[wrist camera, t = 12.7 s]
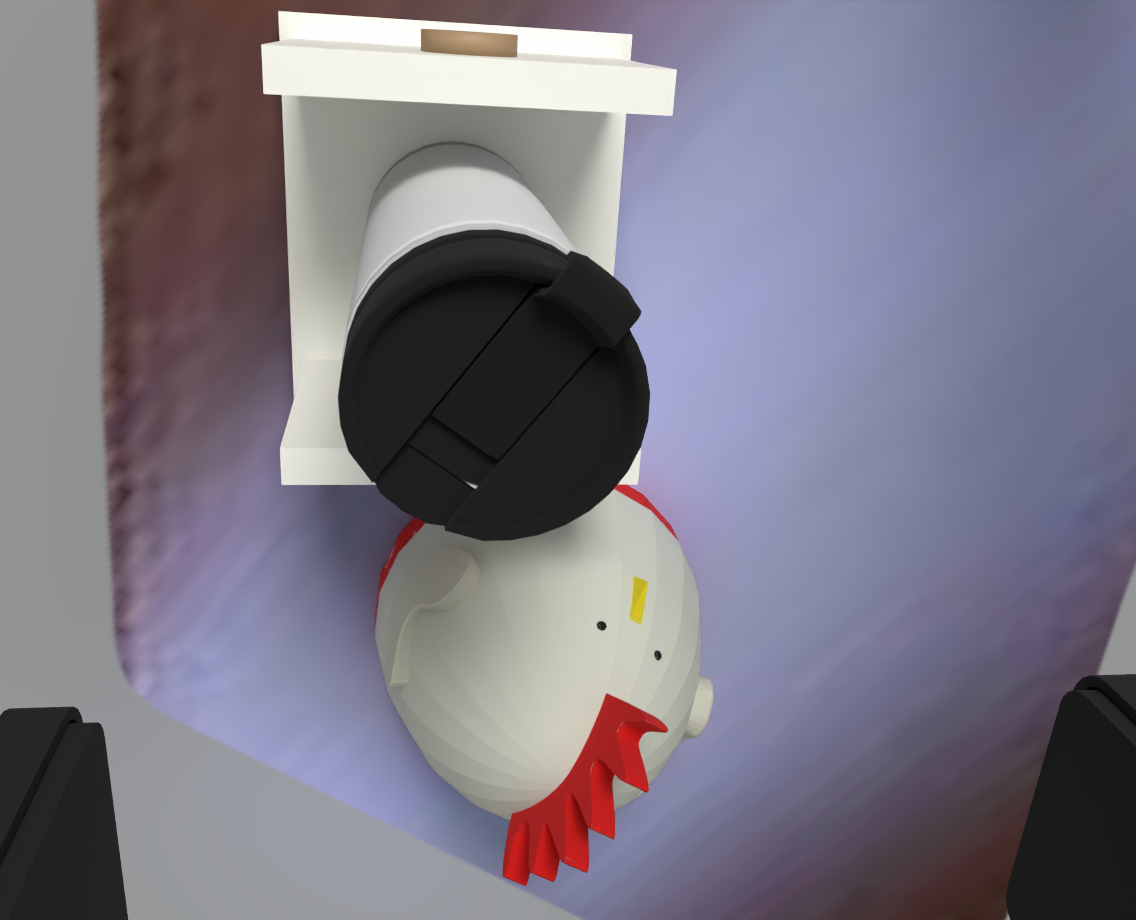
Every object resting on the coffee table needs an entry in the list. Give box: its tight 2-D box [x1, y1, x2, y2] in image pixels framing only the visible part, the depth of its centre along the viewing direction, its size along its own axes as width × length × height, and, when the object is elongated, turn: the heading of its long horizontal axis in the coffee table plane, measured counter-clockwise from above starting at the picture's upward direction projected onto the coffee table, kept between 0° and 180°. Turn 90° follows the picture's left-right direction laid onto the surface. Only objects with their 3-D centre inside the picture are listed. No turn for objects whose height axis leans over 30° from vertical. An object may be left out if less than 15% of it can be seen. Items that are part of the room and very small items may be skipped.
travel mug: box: [338, 142, 650, 541], centre depth 29 cm, size 6×7×20 cm
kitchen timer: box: [375, 484, 714, 886], centre depth 40 cm, size 14×14×15 cm
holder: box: [261, 11, 677, 485], centre depth 35 cm, size 14×12×10 cm
